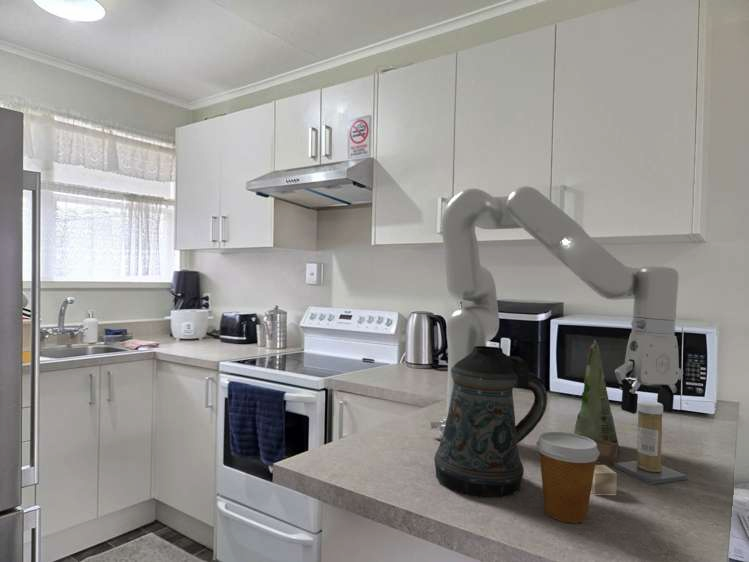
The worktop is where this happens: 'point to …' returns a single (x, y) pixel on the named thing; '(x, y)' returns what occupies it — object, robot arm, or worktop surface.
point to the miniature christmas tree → (595, 403)
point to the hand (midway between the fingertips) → (646, 411)
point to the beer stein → (487, 424)
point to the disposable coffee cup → (567, 474)
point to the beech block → (604, 480)
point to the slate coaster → (651, 473)
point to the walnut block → (606, 452)
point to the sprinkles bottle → (649, 436)
